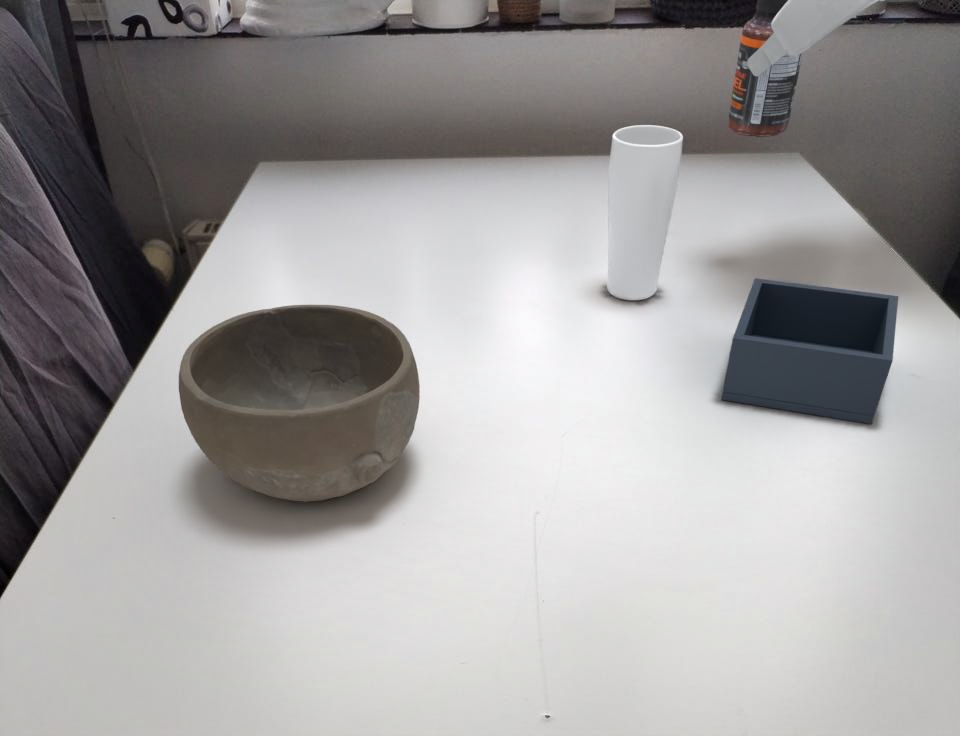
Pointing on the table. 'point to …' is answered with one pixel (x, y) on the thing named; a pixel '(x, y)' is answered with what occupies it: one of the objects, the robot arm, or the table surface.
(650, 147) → the drinking glass
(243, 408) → the bowl
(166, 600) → the table surface
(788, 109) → the supplement bottle
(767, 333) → the bin
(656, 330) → the table surface
